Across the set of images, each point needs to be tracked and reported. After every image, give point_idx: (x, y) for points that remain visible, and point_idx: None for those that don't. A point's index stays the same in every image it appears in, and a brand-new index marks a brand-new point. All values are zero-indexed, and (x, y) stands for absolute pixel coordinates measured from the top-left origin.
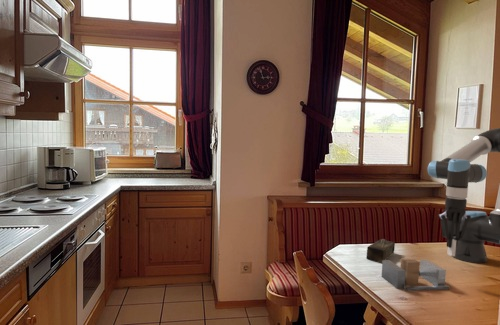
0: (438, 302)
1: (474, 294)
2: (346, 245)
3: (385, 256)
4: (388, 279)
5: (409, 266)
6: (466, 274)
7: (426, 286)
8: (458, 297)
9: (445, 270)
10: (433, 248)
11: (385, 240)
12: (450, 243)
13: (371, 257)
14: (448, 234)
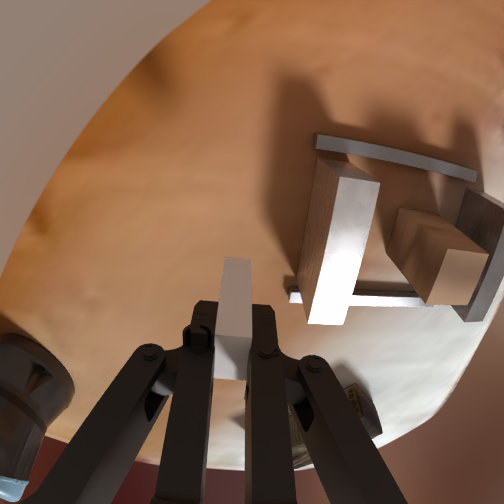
0: (442, 59)
1: (237, 69)
2: None
3: None
4: None
5: (472, 245)
6: (107, 265)
7: (414, 160)
8: (338, 60)
9: (341, 176)
10: None
11: None
12: (262, 327)
13: (372, 403)
14: (312, 386)
